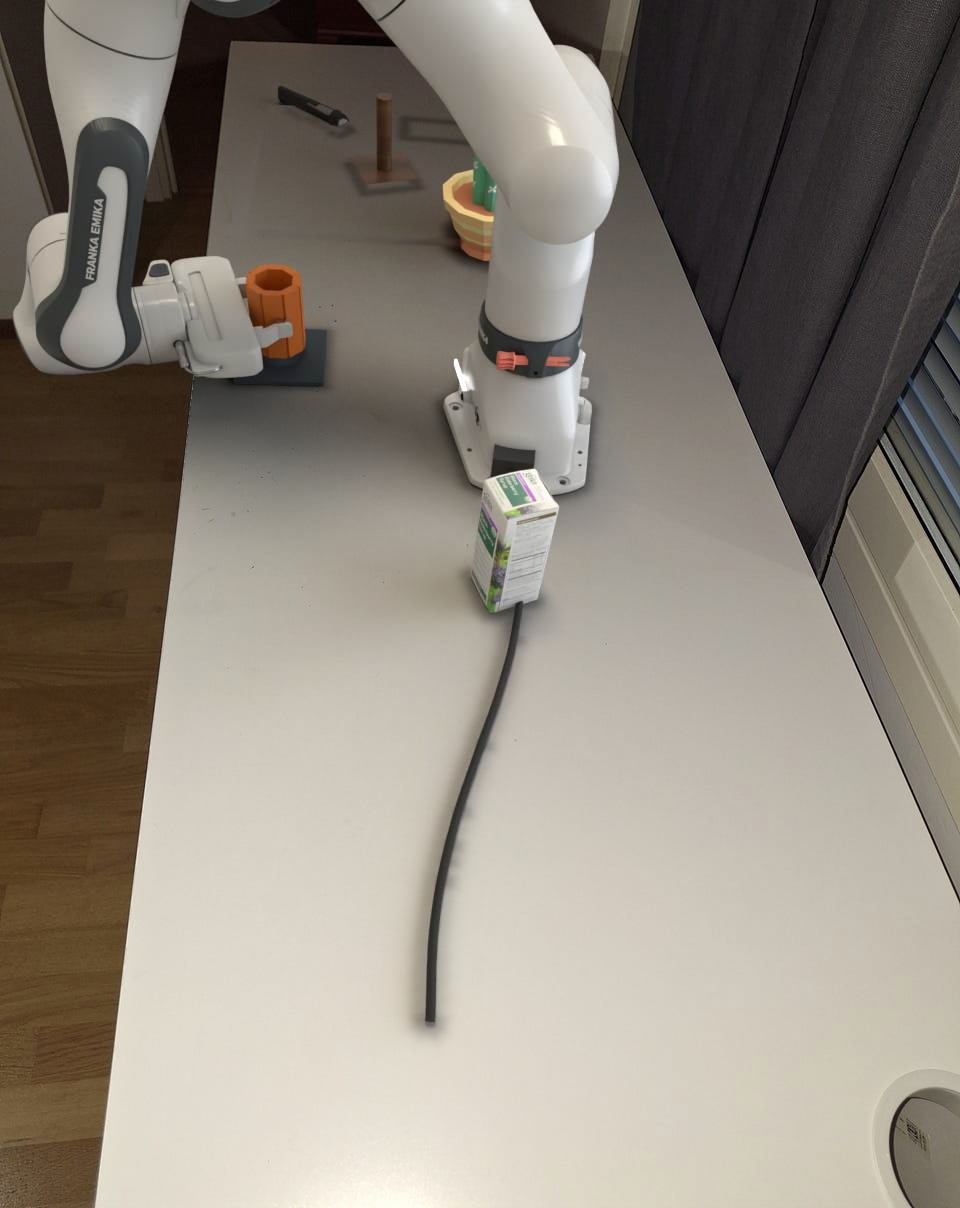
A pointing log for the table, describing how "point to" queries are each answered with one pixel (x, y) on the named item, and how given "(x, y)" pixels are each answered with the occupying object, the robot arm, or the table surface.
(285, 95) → the electric trimmer
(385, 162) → the post
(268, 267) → the orange faceted tube
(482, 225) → the potted cactus
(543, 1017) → the table surface
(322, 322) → the table surface
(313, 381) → the mat
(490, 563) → the syrup box
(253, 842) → the table surface
